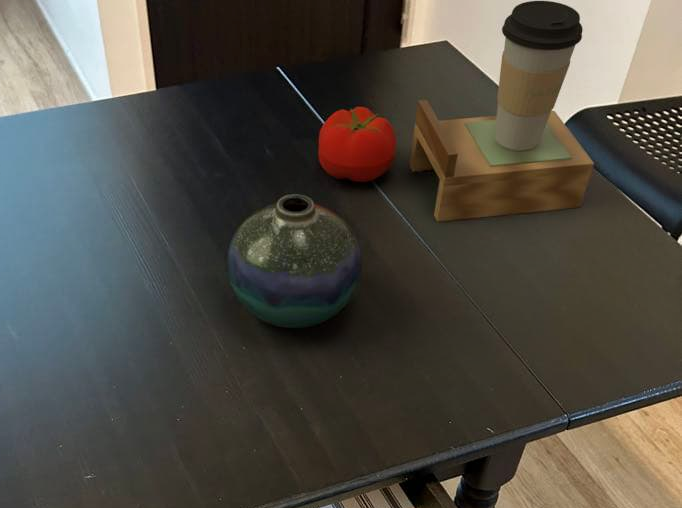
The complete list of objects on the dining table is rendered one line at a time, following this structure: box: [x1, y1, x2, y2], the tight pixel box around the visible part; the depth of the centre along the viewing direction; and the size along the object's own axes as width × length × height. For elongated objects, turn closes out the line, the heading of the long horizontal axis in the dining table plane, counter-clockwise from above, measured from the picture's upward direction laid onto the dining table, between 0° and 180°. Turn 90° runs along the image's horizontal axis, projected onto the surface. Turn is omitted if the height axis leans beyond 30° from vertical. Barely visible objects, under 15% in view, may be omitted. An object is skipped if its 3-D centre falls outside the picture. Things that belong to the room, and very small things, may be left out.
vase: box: [226, 193, 363, 329], centre depth 93 cm, size 15×15×13 cm
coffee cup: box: [495, 0, 584, 151], centre depth 103 cm, size 9×9×15 cm
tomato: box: [318, 106, 397, 183], centre depth 113 cm, size 11×11×8 cm
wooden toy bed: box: [408, 99, 595, 223], centre depth 110 cm, size 20×14×9 cm
